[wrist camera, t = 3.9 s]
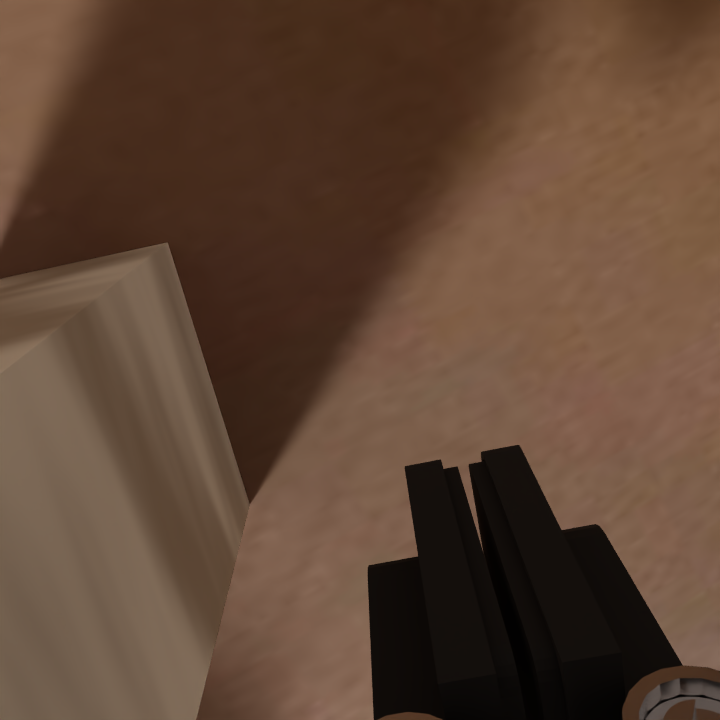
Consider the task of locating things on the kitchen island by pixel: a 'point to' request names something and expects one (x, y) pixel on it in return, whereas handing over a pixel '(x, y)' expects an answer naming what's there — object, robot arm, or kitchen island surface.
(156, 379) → the birch block
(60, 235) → the kitchen island surface
